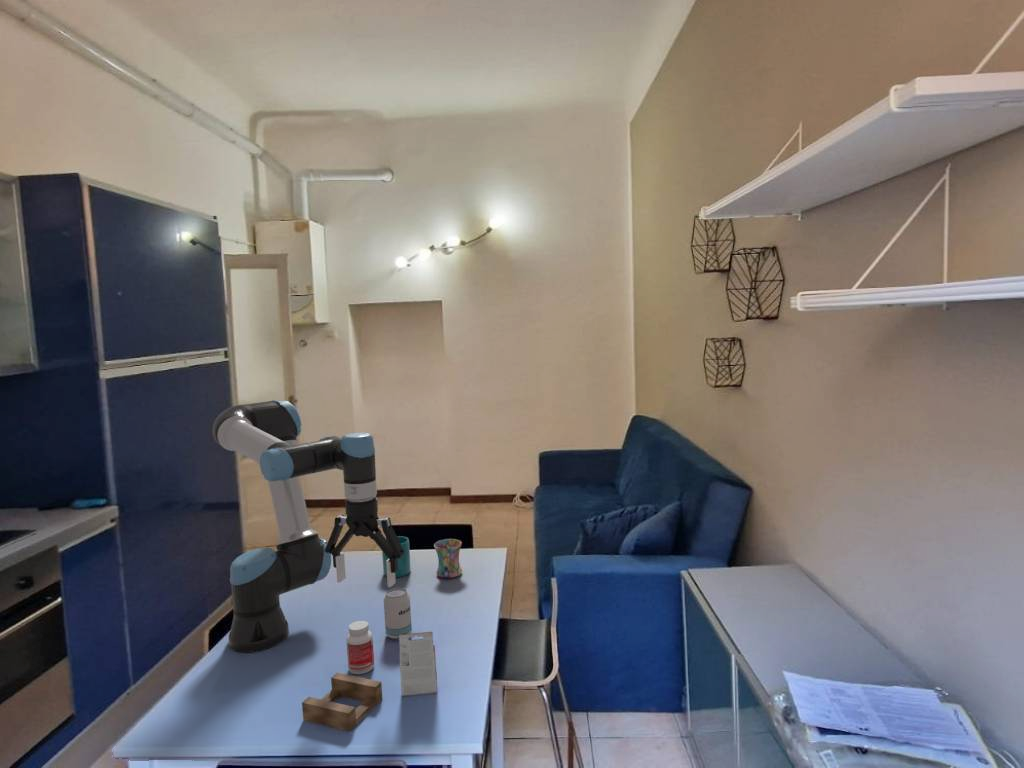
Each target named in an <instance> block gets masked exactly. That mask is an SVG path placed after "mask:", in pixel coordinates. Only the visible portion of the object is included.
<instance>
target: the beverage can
mask: <svg viewBox="0 0 1024 768" xmlns="http://www.w3.org/2000/svg"><path fill="white" fill-rule="evenodd" d="M410 596H411V595H409V593H408V591H407V589H406V588H404V587H394V588H391V589H389V590H387V591H386V592H385V595H384V598H383V610H384V611H383V612H384V625H385V635H386V636H387V637H389V638H390V639H392V640H399V635H402V634H412V633H411V632H412V631H413V630H412V629H413V627H412V614H411V613H412V612H411V611H412V610H411V597H410Z"/></svg>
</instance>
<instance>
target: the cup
mask: <svg viewBox="0 0 1024 768" xmlns="http://www.w3.org/2000/svg"><path fill="white" fill-rule="evenodd" d="M396 536H397V535H396ZM385 538H386V537H385ZM397 538H398V540H399V542H400V544H401V546H402V548H403V549H404V551H405V554H404V555H403V556H402V557H400V558H399V559H397V561H398V570H397V571H396V572H395V578H401V577H405V576H407V575H408V574H409V573H410V572H411V571H412V570H411V569H412V568H411V555H410V554H411V552H410V540H409V537H407V536H402V535H401V536H400V535H399V536H397ZM386 539H387V538H386ZM387 541H388V540H387ZM381 556H382V569H383V570H382V571H383V575H384V576H385V577H387V566H386V561H387V560H388V559H389V558H388V557H387V556H386V555H385V553H384V552H383V551H382V550H381Z"/></svg>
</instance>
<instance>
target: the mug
mask: <svg viewBox="0 0 1024 768" xmlns="http://www.w3.org/2000/svg"><path fill="white" fill-rule="evenodd" d="M462 545H463V542H462V540H459V539H455V538H445V539H440V540H437V541H436V542H435V543H434V544H433V547H434V549H435V552H436V554H437V557H438V558H437V559H438V566H437V570H436V575H437V577H439V578H444V579H451V578H456V577H459V576H460V575H461V574H462V572H463V570H462V568H461V565H460V558H459V557H460V551H461V548H462Z"/></svg>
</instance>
